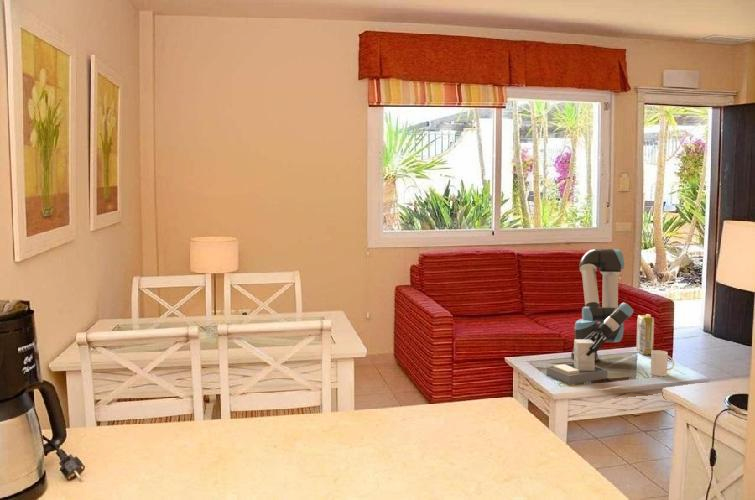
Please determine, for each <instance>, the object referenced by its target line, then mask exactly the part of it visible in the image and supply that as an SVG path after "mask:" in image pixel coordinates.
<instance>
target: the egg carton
mask: <svg viewBox="0 0 755 500" xmlns="http://www.w3.org/2000/svg"><path fill="white" fill-rule="evenodd" d="M565 364H566V363H564V364H563V363H561V364H557V365H552V366H553V369H555V370H558V371H560V372H563V373H565V374H568V375H574V374H579V370H578V369H575V368H573V367H570V366H567V365H565Z"/></svg>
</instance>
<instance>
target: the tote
mask: <svg viewBox="0 0 755 500" xmlns="http://www.w3.org/2000/svg"><path fill="white" fill-rule="evenodd" d="M564 364H565V365H567V366H570V367H573V368H575V367H574V362H571V363H564ZM553 366H554V365H549V366H546V376H548V377H551V378H553V379H556V380H557V381H559V382H563V383H565V384H568V385H573V384H580V383H586V382H593V381H598V380H599V381H600V380H605V379H608V369H605V368H603V367H601V366H597V365H595V370H594V371H579V374H574V375H568V374H565V373H563V372H560V371H558V370H555V369H553ZM575 369H576V368H575Z"/></svg>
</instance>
